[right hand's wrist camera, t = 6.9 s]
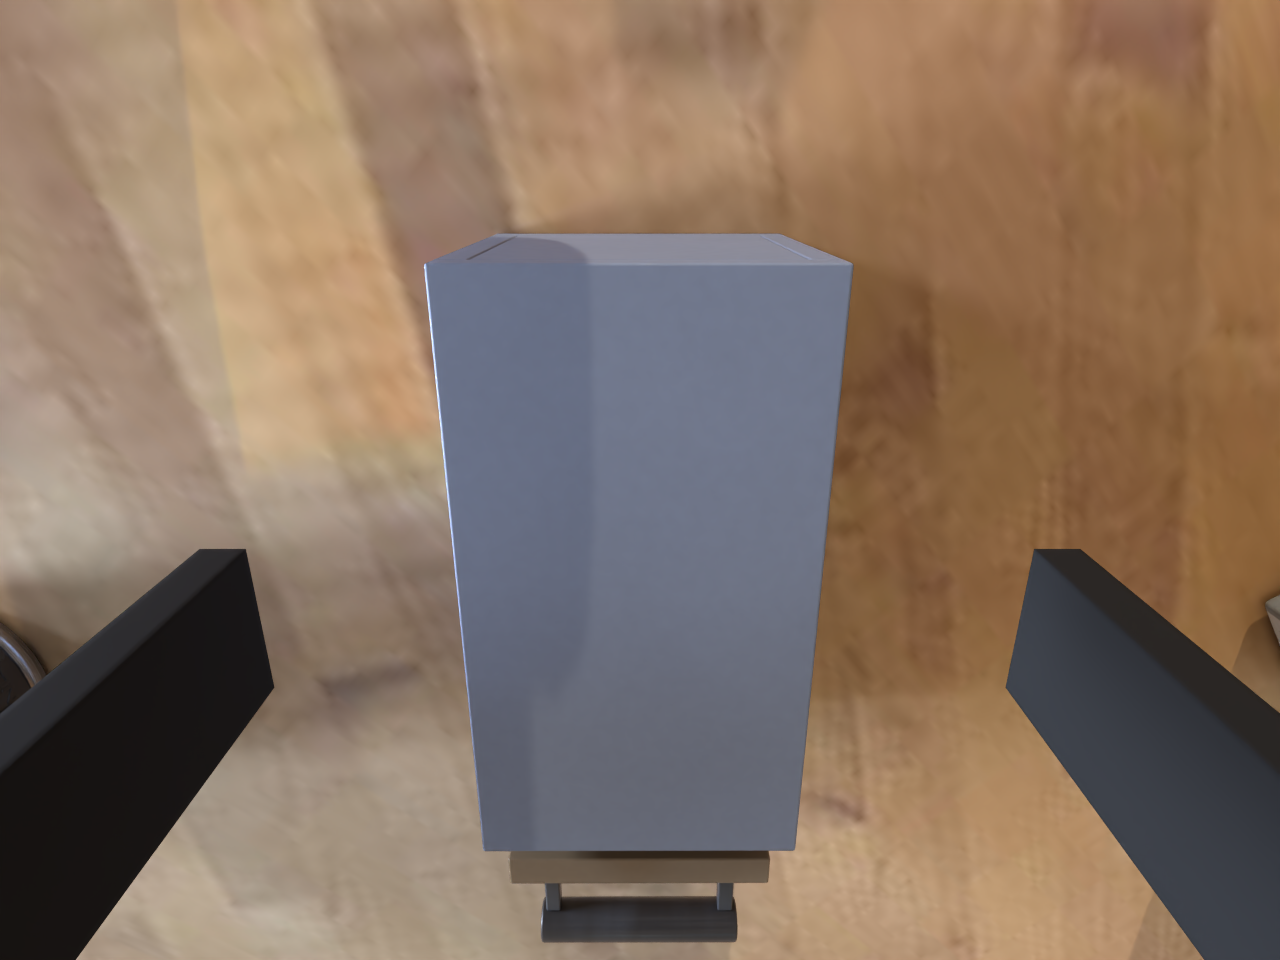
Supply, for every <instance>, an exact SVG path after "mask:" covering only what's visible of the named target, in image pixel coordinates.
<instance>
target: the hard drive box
mask: <svg viewBox="0 0 1280 960" xmlns="http://www.w3.org/2000/svg"><path fill="white" fill-rule="evenodd" d="M1265 608H1266V610H1267V613H1268V616H1269V618H1270V621H1271V624H1272V626H1273V629H1274V631H1275V634H1276V636H1277V639H1278V641H1279V644H1280V595H1278V596H1276V597H1274V598H1272V599H1270V600H1268V601H1267V602H1266V603H1265Z"/></svg>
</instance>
